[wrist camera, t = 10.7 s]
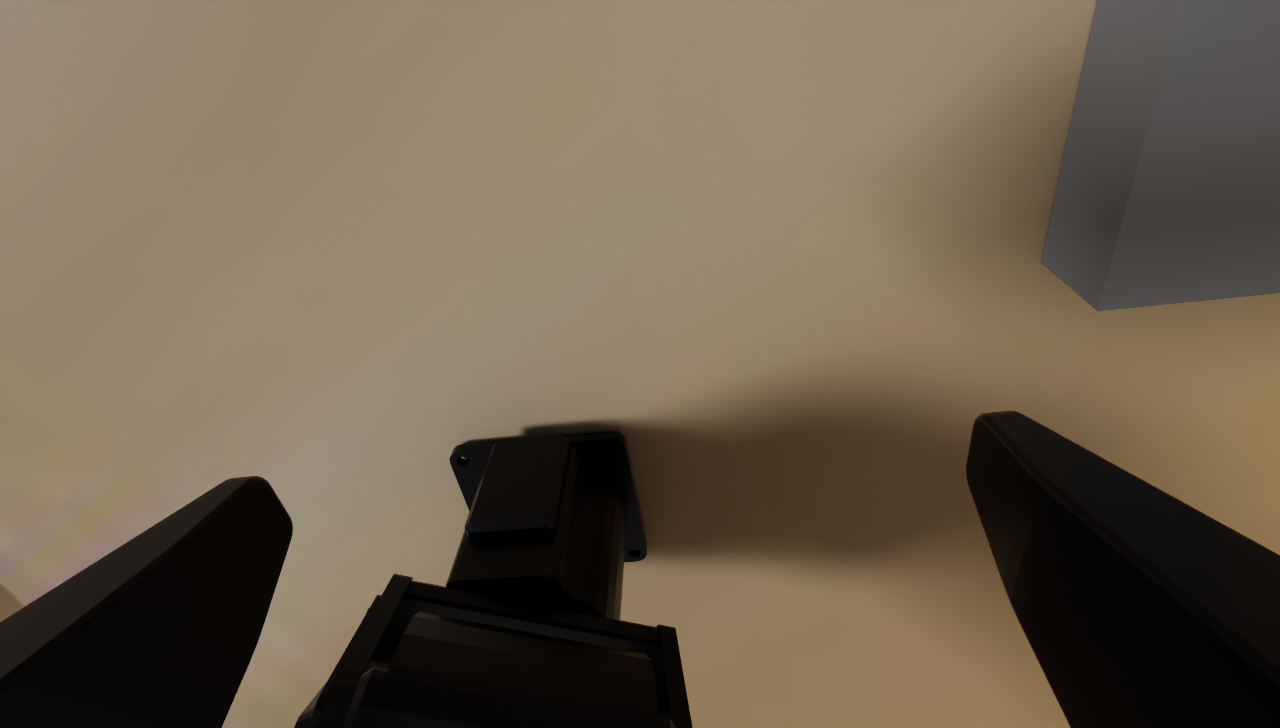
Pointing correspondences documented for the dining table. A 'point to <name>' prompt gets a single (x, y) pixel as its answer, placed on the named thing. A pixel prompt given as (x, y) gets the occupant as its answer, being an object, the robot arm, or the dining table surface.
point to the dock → (1172, 156)
